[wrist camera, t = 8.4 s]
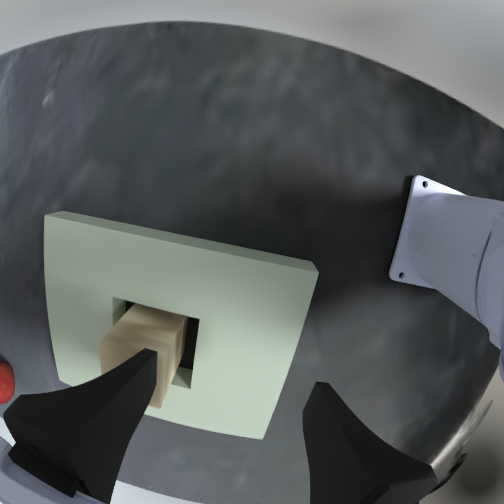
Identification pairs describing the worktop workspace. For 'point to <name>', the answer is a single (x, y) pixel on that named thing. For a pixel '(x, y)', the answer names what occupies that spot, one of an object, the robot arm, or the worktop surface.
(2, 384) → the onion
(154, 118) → the worktop surface
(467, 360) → the worktop surface
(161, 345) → the beech block
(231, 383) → the well board
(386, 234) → the worktop surface
